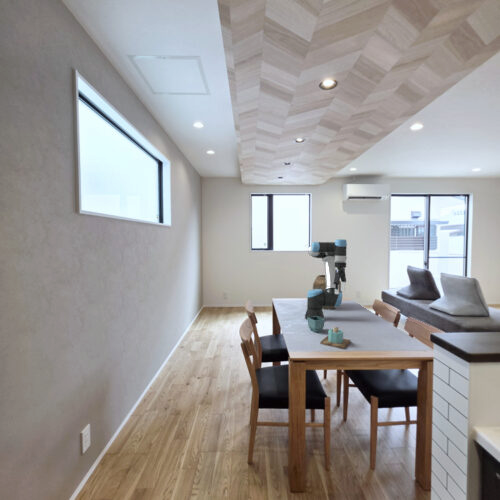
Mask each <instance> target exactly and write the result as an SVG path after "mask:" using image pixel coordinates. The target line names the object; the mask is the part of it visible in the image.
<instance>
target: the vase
mask: <svg viewBox="0 0 500 500" xmlns="http://www.w3.org/2000/svg"><path fill="white" fill-rule="evenodd" d="M315 277H316V278H315V279H314V281H313V283H312V290H313V289H322V291H324V290H325V288H326V279H325V274H321V275H320V274H319V275H317V276H315ZM339 291H340V292H342V293H343V291H341V280H340V281H339ZM336 307H337V306H335V307H334V306H322V310H328V309H330V310H334V309H335V308H336Z"/></svg>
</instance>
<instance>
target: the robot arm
mask: <svg viewBox="0 0 500 500" xmlns="http://www.w3.org/2000/svg"><path fill="white" fill-rule="evenodd" d="M334 241H335V242H334ZM334 241H325V242H321V241H313V242H312V243H311V245H310V246H309V248H308V251H307V252H308V255H309V256H311V257H312V258H315V259H321V260H322V262H324V263H323V265H324V275H325V279H326V288H325V290H324V291H322V289H313V288H312V289H311V290H308V291H307V295H306V298H307V302H306V303H307V305H306V308H307V309H306V311H305V314H304V319H306V320H307V317H313V316H318V317H321V318H324V319H325V314H324V312H323V309H322V306H334V307H335V306H336V307H340V306H341V304H342V302H343V292H346V283H347V277H346V268H347V259H348V257H347V249H348V247H347V246H348V243H347V239H335V240H334ZM339 281H340V282H341V291H342V292H340V291H339ZM336 307H335V308H336Z"/></svg>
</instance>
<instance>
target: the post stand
mask: <svg viewBox="0 0 500 500" xmlns="http://www.w3.org/2000/svg"><path fill="white" fill-rule="evenodd" d="M332 329H333V332H335V333H338V330H339V327H338V326H337V327H336V326H334V327H333V328H332ZM350 343H351V339H347V338H343V342H342V343H337V344H336V343H332V342H330V341H328V335H327V336H325V337H324V338H323V339H322V340H321V341H320V345H322V346H323V345H324V346H327V347H328V346H329V347H332V348H336V349H341V350H345V349H346V348H347V346H349V344H350Z"/></svg>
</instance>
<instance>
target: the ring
mask: <svg viewBox="0 0 500 500" xmlns="http://www.w3.org/2000/svg"><path fill="white" fill-rule="evenodd" d="M327 334H328V335H327V336H328V341H330V342H332V343H336V344H337V343H342V342H343V339H344V331H343V330H341V329H338V333H335V332H333V328H330V329H329V330H328V332H327Z"/></svg>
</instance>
